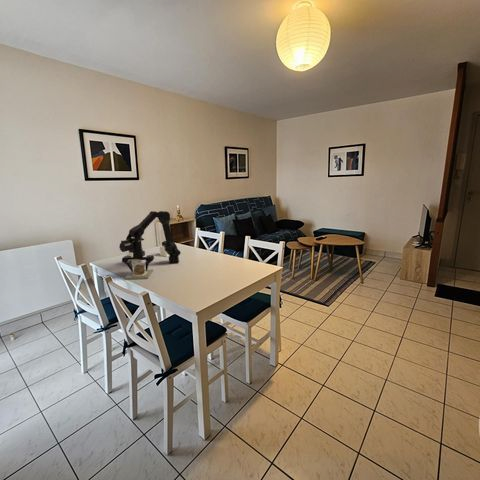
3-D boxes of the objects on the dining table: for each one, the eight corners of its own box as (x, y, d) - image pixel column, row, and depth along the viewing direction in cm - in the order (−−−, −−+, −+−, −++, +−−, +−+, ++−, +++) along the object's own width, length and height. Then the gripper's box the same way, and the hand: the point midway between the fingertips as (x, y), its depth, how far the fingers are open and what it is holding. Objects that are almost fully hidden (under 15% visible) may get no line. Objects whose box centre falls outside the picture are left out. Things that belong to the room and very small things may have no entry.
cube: (144, 271, 172) (144, 264, 171) (142, 274, 167) (141, 267, 166) (137, 272, 171) (136, 264, 170) (134, 274, 166) (133, 267, 165)
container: (133, 265, 188) (131, 248, 185) (127, 263, 192) (125, 247, 189) (142, 263, 194) (140, 246, 191) (136, 261, 198) (135, 244, 195)
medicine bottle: (172, 254, 215) (171, 240, 212) (166, 256, 209) (165, 242, 206) (165, 253, 218) (164, 239, 215) (160, 255, 212) (158, 241, 209)
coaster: (153, 271, 177) (153, 269, 176) (147, 278, 163) (147, 276, 163) (132, 271, 176) (132, 270, 175) (125, 279, 162) (124, 277, 162)
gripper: (155, 244, 174) (157, 266, 177) (126, 245, 172) (129, 267, 176) (150, 249, 163) (152, 272, 166) (120, 249, 162) (123, 273, 165)
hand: (139, 271), depth 169 cm, fingers open, 9 cm apart
